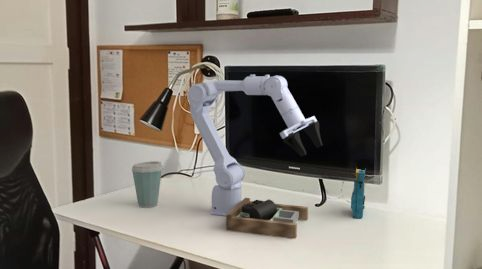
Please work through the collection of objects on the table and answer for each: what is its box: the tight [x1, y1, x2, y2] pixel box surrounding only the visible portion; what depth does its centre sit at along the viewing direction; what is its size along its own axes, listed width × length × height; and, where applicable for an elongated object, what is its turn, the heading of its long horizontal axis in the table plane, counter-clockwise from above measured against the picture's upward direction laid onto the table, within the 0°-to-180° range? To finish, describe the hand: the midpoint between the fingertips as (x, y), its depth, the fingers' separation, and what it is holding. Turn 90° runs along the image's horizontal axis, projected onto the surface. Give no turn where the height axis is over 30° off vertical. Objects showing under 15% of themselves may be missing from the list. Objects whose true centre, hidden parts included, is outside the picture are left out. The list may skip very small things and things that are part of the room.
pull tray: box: [237, 208, 299, 223], centre depth 156 cm, size 17×14×4 cm
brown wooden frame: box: [225, 197, 309, 239], centre depth 156 cm, size 21×18×5 cm
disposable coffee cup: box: [131, 160, 164, 208], centre depth 175 cm, size 11×11×15 cm
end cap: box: [242, 199, 277, 220], centre depth 157 cm, size 10×7×7 cm
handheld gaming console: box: [350, 168, 366, 220], centre depth 165 cm, size 10×4×15 cm, turn 164°
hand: (312, 151), depth 152 cm, fingers open, 7 cm apart
